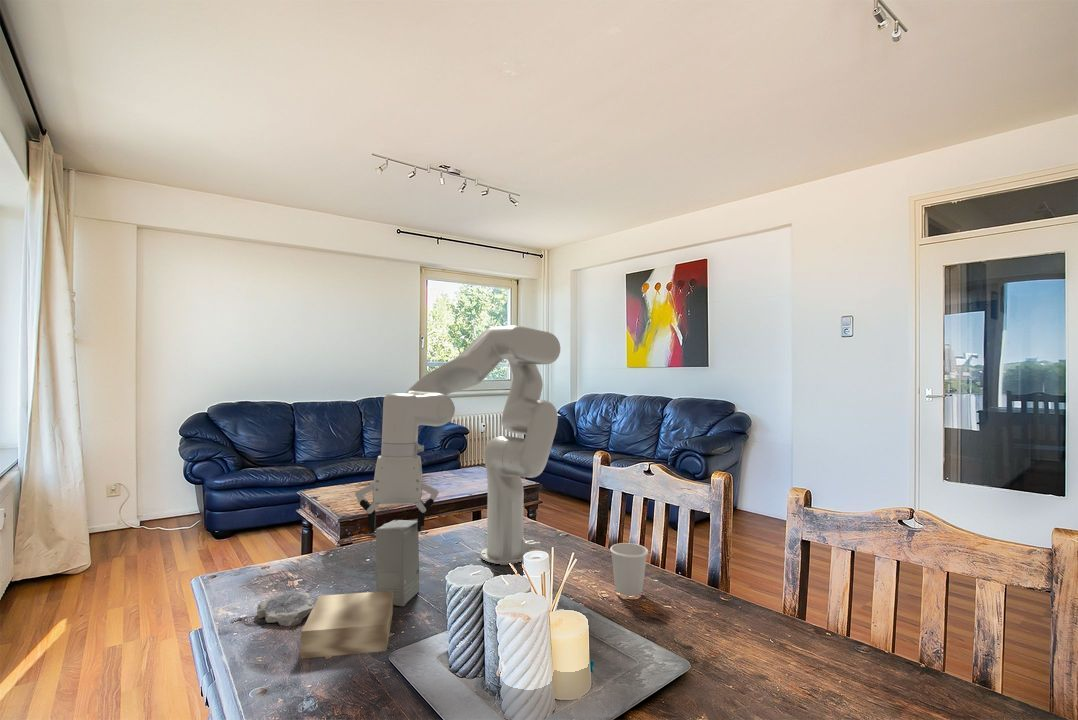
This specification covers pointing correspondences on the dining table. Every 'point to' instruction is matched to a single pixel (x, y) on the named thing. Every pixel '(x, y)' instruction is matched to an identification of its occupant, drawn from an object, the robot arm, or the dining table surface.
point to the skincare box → (398, 560)
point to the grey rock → (286, 608)
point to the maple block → (348, 624)
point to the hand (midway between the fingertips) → (396, 530)
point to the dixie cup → (628, 567)
